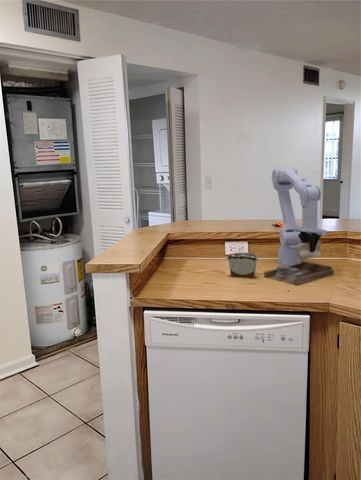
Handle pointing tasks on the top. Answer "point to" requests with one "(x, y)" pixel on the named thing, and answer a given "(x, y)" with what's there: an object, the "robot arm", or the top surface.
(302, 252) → the grey rectangular block
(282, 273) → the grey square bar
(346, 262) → the top surface
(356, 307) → the top surface
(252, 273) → the food container
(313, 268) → the walnut tray
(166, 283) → the top surface
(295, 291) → the top surface
